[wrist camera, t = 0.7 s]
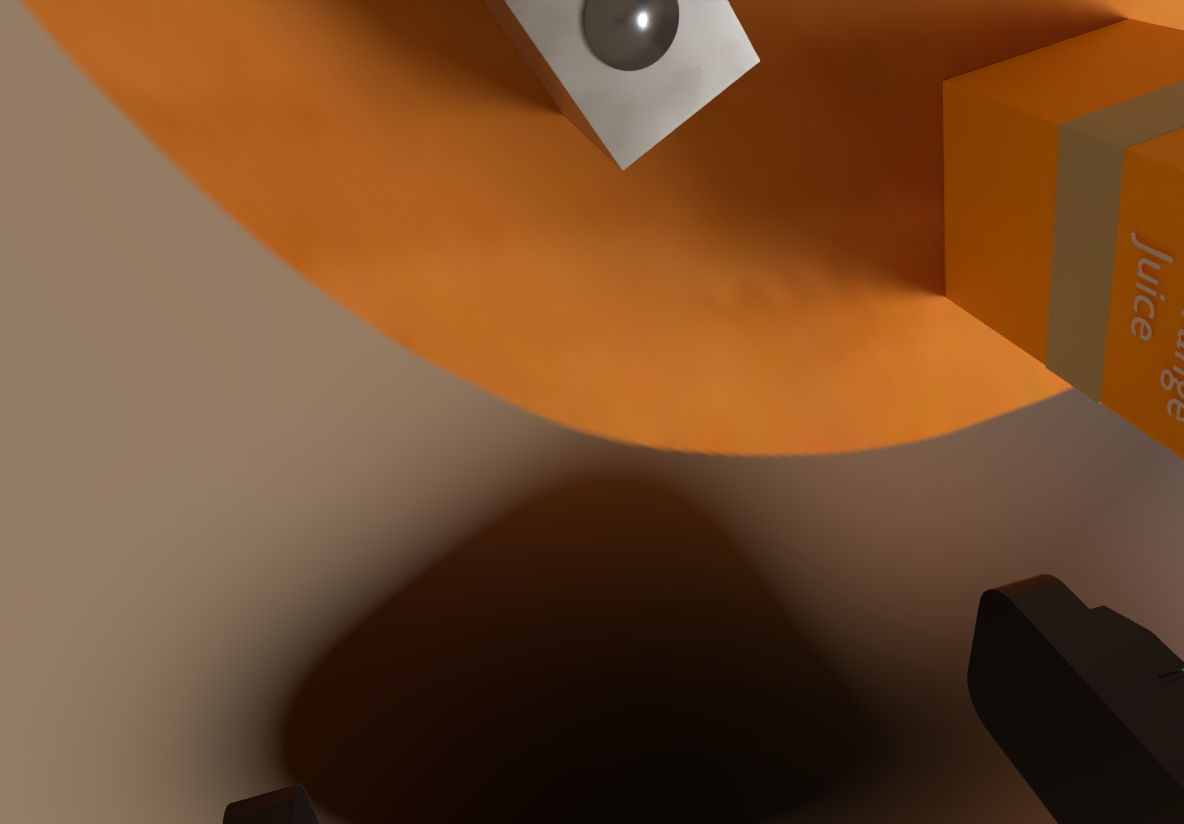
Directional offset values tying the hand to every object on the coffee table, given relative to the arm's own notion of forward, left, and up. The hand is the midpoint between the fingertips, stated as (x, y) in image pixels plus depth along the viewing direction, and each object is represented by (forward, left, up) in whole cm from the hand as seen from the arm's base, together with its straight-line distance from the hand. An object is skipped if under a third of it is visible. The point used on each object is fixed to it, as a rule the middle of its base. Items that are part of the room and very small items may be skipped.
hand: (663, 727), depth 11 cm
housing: (-7, -1, -23) cm, 24 cm away
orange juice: (-18, +15, -23) cm, 33 cm away
